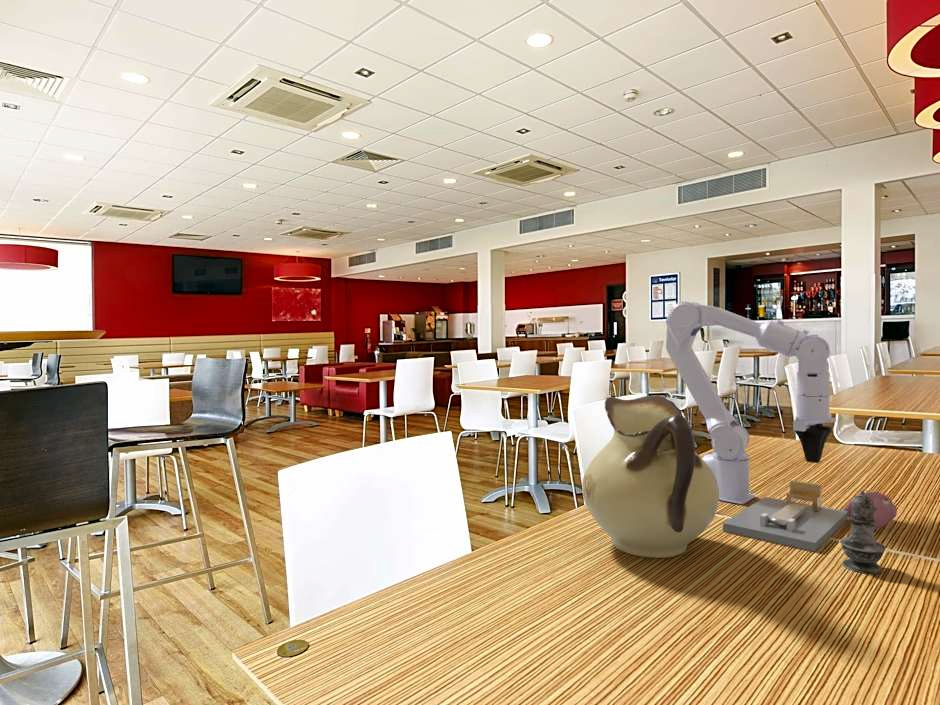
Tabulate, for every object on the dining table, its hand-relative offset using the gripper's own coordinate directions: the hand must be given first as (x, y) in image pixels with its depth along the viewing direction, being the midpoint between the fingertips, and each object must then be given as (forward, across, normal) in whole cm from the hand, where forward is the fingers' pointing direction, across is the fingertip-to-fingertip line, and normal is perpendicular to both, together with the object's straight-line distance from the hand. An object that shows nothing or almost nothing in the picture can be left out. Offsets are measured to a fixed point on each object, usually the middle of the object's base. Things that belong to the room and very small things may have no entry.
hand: (812, 461), depth 120 cm
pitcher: (+10, -41, +10) cm, 44 cm away
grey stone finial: (+10, -26, -16) cm, 32 cm away
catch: (+8, -6, 0) cm, 10 cm away
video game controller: (+10, -2, -11) cm, 15 cm away
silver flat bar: (+7, -16, -1) cm, 17 cm away
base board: (+9, -14, -1) cm, 17 cm away
